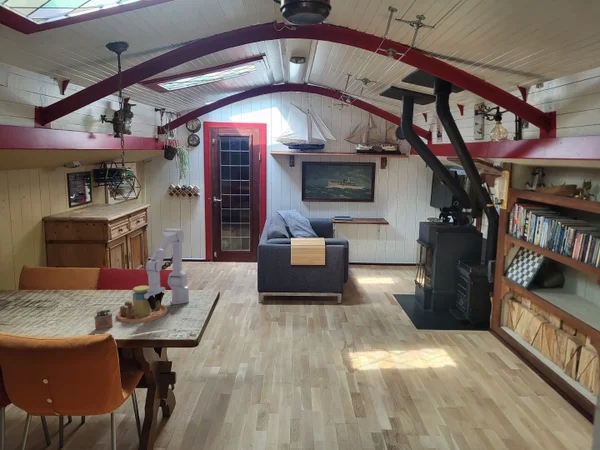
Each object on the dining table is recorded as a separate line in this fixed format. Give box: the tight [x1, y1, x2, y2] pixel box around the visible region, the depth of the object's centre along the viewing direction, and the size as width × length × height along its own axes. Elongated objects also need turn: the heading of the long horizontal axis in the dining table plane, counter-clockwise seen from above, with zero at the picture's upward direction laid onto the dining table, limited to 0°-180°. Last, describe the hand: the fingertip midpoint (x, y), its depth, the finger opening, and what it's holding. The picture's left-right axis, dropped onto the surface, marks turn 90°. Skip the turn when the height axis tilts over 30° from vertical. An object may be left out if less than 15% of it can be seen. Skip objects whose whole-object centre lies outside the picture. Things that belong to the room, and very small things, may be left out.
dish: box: [116, 303, 168, 324], centre depth 234 cm, size 25×25×2 cm
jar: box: [132, 285, 153, 317], centre depth 233 cm, size 9×9×15 cm
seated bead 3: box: [126, 309, 136, 319], centre depth 225 cm, size 4×4×5 cm
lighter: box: [94, 308, 114, 331], centre depth 214 cm, size 8×3×10 cm, turn 117°
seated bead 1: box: [119, 305, 128, 317], centre depth 230 cm, size 4×4×5 cm
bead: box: [152, 300, 160, 312], centre depth 230 cm, size 4×4×5 cm
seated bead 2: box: [124, 300, 133, 309], centre depth 236 cm, size 4×4×5 cm
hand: (155, 307), depth 230 cm, fingers closed on bead, 4 cm apart
